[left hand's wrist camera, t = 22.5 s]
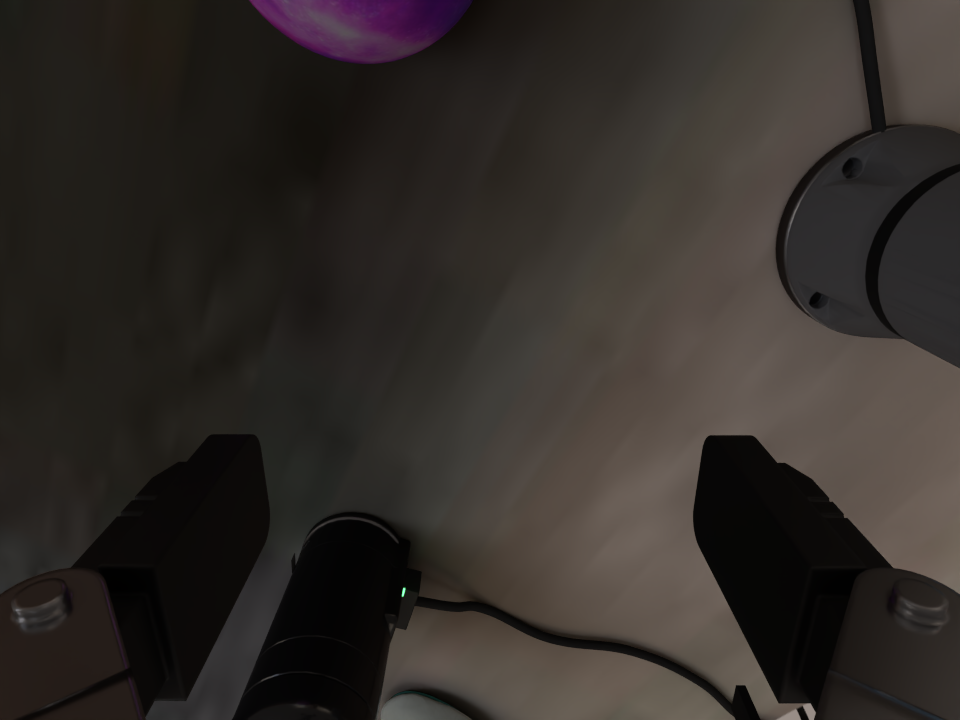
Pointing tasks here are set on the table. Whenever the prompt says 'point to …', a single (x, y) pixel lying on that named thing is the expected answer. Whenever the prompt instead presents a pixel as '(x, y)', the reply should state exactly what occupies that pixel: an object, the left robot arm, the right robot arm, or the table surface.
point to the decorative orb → (363, 25)
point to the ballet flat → (419, 708)
